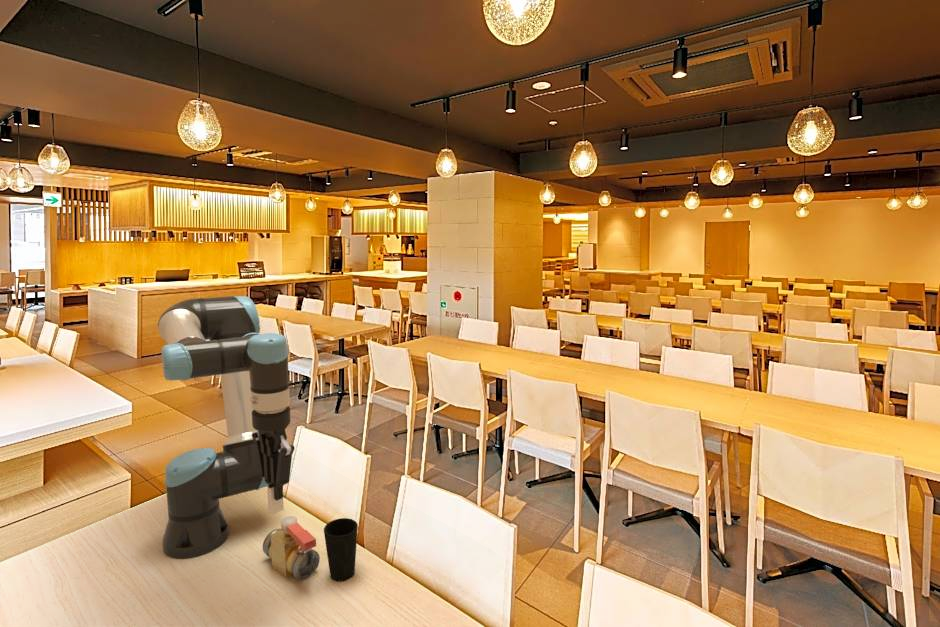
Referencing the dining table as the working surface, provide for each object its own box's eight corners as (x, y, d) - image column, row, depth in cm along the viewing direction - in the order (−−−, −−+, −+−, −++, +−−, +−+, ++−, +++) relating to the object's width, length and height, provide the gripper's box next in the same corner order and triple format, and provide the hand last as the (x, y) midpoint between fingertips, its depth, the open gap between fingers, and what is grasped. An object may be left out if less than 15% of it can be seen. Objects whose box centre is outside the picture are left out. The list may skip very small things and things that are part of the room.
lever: (278, 527, 122) (278, 520, 122) (293, 522, 125) (293, 514, 125) (302, 552, 113) (302, 543, 113) (317, 545, 116) (317, 537, 115)
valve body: (263, 560, 126) (261, 523, 124) (287, 547, 131) (285, 512, 129) (295, 585, 117) (293, 545, 116) (320, 570, 122) (318, 532, 121)
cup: (350, 587, 117) (349, 538, 115) (319, 582, 118) (317, 534, 116) (364, 565, 124) (362, 520, 122) (334, 561, 126) (333, 516, 124)
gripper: (238, 405, 109) (244, 507, 113) (271, 420, 100) (276, 530, 105) (270, 396, 114) (275, 493, 118) (304, 410, 106) (308, 514, 110)
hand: (276, 510), depth 111 cm, fingers closed
